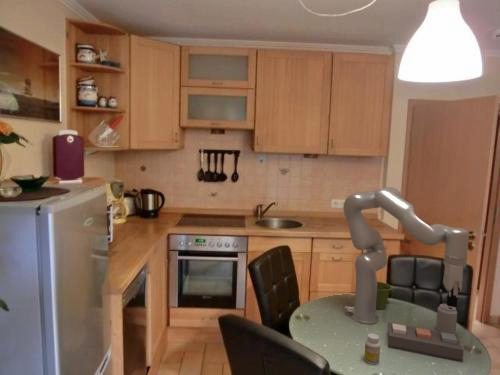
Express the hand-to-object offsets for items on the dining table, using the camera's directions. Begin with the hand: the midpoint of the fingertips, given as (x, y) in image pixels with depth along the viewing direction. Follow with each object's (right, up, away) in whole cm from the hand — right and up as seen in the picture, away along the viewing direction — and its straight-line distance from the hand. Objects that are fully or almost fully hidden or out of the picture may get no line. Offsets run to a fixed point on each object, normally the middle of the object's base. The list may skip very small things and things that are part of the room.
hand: (451, 305), depth 136 cm
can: (+7, -18, +17) cm, 26 cm away
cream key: (-17, -15, +8) cm, 24 cm away
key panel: (-9, -18, +5) cm, 21 cm away
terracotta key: (-9, -16, +5) cm, 19 cm away
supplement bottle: (-33, -19, -5) cm, 38 cm away
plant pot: (-13, -15, +42) cm, 46 cm away
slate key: (0, -16, +2) cm, 17 cm away
